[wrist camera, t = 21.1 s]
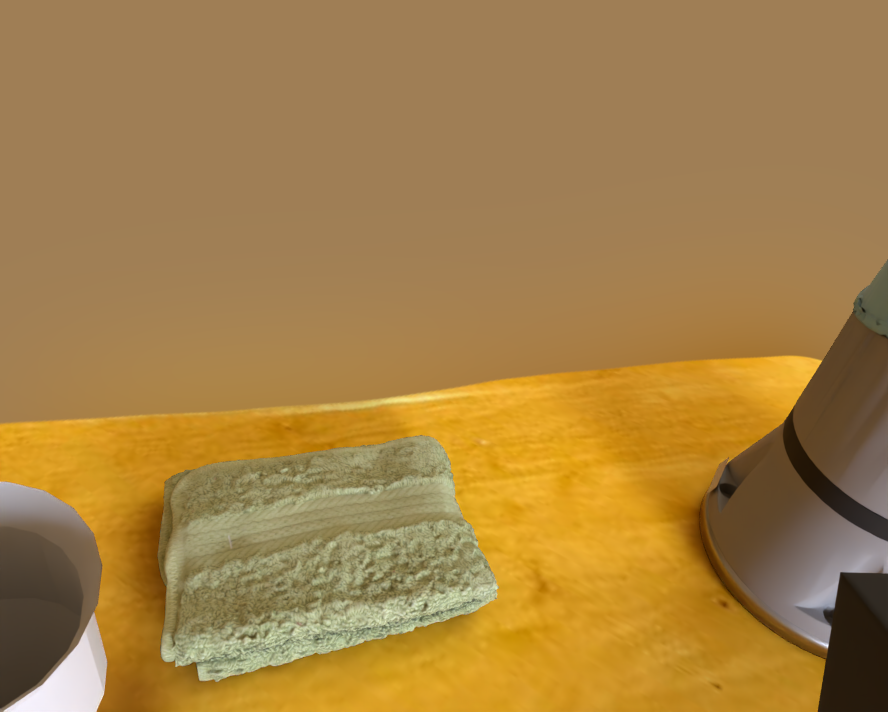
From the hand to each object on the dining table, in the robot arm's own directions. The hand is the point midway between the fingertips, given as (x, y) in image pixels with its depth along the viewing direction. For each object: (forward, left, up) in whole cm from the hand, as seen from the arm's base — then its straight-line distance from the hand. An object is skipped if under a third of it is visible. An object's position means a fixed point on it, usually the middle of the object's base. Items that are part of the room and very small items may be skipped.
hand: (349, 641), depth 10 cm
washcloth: (-6, -19, -28) cm, 34 cm away
